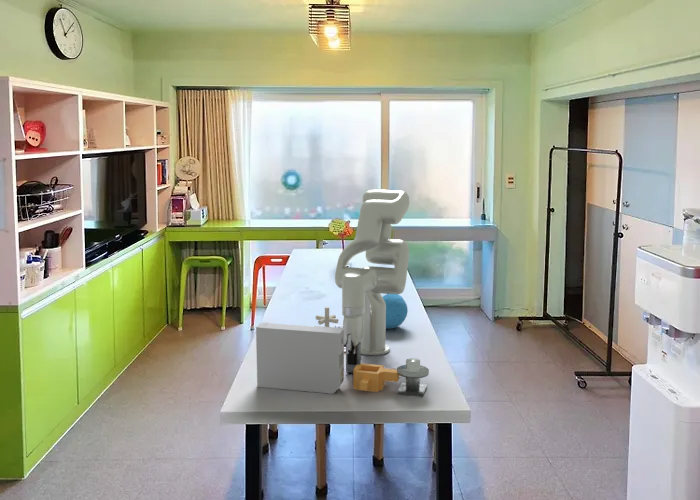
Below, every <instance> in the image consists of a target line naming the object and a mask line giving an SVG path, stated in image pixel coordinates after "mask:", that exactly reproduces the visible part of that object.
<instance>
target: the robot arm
mask: <svg viewBox="0 0 700 500" xmlns="http://www.w3.org/2000/svg"><path fill="white" fill-rule="evenodd" d="M409 206H410V196H409V195H408V193H407V192H406V191H404V190H394V189H393V190H390V189H370V190H367V191H365V192H364V193H363V195H362V204H361V206H360V210H359V211H360V212H359V215H358V220H357V225H356V231H355V237H354V239H353V240H352V241H351V242H349V243H348V244H347V245H346V246H345V248H344V249H343V250H342V251H341V253H340V254H339V256H338V260H337V264H336V268H335V273H334V281H335V282H334V283H335V285H336V286H337V287H338V288H339V289H341V312H342V313H341V314H342V316H343V320H342V321H343V322H342V328H344V346H346V343H347V364H348V365H357V353H356V345H357V344H358V343H359V342H361V355H366V356H381V355H385V354H388V353H389V352H390V349H391V348H390V346H389V345H388V344H386V336H387V335H386V332H387V330H386V303H385V301H384V299H383V296H382V295H381V294H383V295H387V294H398V295H401V294H402V293H403V292H404V291H405V288H406V283H407V277H408V268H409V258H410V247H409V244H408V242H406V240H403V239H395V238H392V232H393V231H392V230H393V229H392V228H393V227H392V225H398V224H399V223H400V222H401V221H402V219H403V218H404V217H405V215H406V213H407V212H408V210H409V208H410V207H409ZM364 252H365V259H366V261H367V262H368V263H371V264H373V266H370V265H369V266H365V267H354V266H353V267H352V266H350V267H349V266H348V265H349V263H350V261H351V260H352V259H353V258H354V257H356V256H357V255H359V254H361V253H364ZM374 264H375V265H386V266H394V267H385V266H374ZM352 343H354V344H352ZM352 347H354V349H353V348H352Z"/></svg>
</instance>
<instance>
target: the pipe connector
mask: <svg viewBox="0 0 700 500" xmlns="http://www.w3.org/2000/svg"><path fill="white" fill-rule="evenodd" d="M315 320H316V321H317V324H318V326H319V325H320V326H321V325H323V324H324V327H330V323H332V324H338V323H339V319H338V318H336V315H335V314H331V315H330V307H329V306H325V307H324V315H318V314H317V315H315Z"/></svg>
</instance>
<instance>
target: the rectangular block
mask: <svg viewBox="0 0 700 500" xmlns="http://www.w3.org/2000/svg"><path fill="white" fill-rule="evenodd" d="M352 344H354V343H352ZM352 348H353V349H354V347H352ZM356 353H357V365H360V364H361V363H362V362H361V361H362V354H361V342H359V343H358V344H357V345H356ZM355 367H356V365H348V364H347V343H346V344H345V372H346V373H352V374H353V369H354V368H355Z"/></svg>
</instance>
